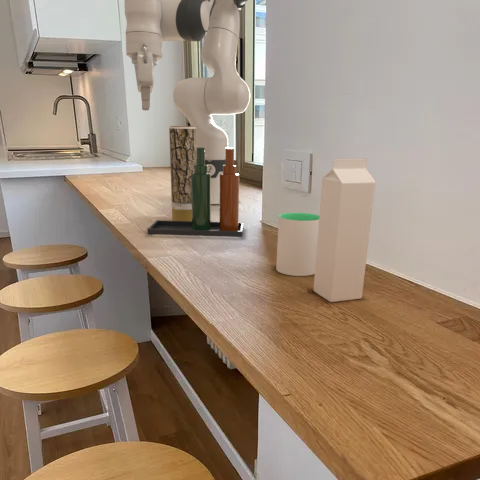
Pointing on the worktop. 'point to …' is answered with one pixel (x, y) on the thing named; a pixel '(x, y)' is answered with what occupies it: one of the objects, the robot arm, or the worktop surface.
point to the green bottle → (201, 193)
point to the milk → (344, 230)
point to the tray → (190, 229)
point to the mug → (297, 243)
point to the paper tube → (182, 170)
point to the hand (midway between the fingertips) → (145, 109)
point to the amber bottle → (229, 195)
